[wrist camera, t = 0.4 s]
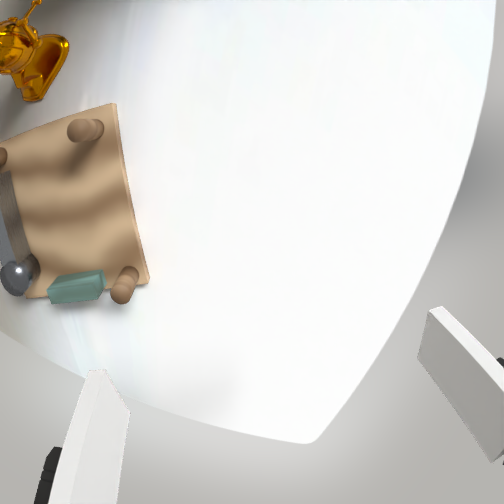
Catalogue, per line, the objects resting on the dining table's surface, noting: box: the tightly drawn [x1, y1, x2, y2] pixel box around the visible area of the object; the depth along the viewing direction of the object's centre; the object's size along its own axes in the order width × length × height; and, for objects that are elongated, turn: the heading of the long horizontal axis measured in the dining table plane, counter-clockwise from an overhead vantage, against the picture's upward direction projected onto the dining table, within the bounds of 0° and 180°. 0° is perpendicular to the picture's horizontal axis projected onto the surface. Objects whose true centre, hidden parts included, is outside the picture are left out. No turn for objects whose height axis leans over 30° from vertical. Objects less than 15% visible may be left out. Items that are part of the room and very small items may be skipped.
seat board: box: [0, 103, 150, 304], centre depth 31 cm, size 22×20×6 cm
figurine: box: [0, 0, 69, 102], centre depth 20 cm, size 8×11×12 cm
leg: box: [0, 170, 41, 296], centre depth 30 cm, size 15×4×4 cm, turn 6°
